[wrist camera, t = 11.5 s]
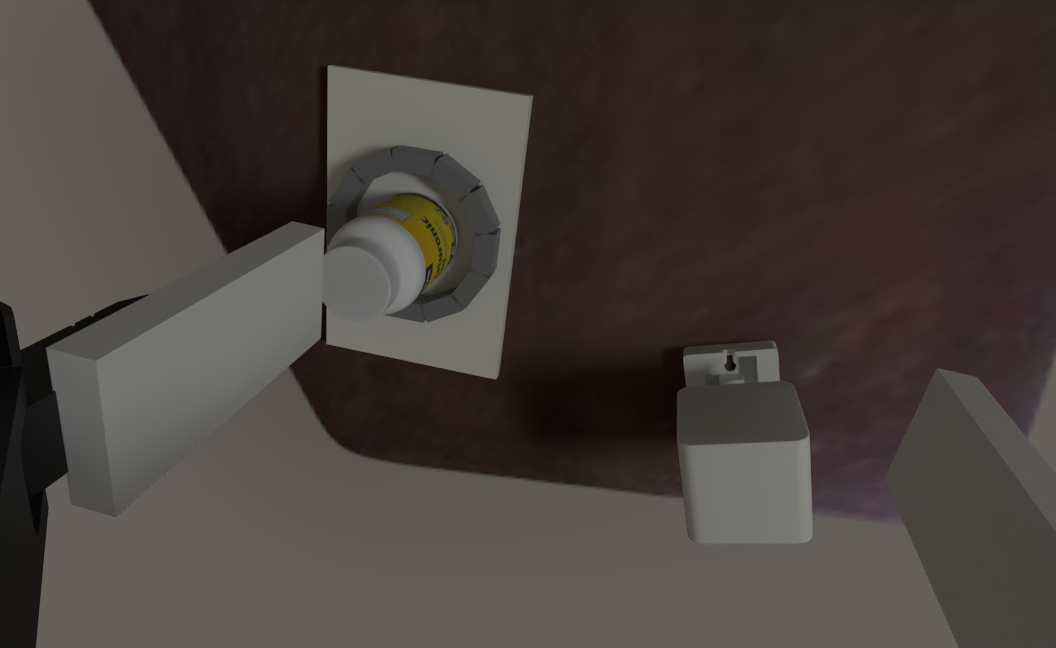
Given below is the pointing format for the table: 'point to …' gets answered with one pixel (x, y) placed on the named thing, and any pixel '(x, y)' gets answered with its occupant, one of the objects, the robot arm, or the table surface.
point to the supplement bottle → (387, 257)
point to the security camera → (742, 448)
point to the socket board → (450, 178)
